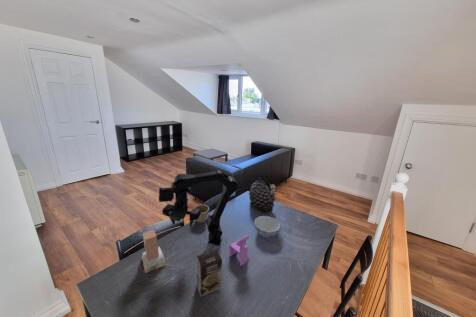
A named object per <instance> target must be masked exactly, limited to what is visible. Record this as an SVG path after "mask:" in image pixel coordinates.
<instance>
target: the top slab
mask: <svg viewBox="0 0 476 317" xmlns="http://www.w3.org/2000/svg"><path fill="white" fill-rule="evenodd" d="M158 252H159V256H158V257H156V258H153V259H151V260H147V257H146V254H145V251H144V252H142V256H143V259H144V262H145V265H146V269H147V268H149V267H152V266H154V265H157V264H159V263H162V262H164V260H165V256H164V254H163V251H162V249H161V247H160V246H158Z"/></svg>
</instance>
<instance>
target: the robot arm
mask: <svg viewBox="0 0 476 317" xmlns="http://www.w3.org/2000/svg"><path fill="white" fill-rule="evenodd" d="M214 181H218V182H220V183H221V184H222V192H221V194H220V197H219V198H218V201H217V204H216V206H215V209H214V210H213V213H212V214H211V215H210V214H207V218H206V221H205V222H206V227H207V231H208V244H210V245H215V246H220V245H221V243H222V239H223V237H222V235H223V231H222V227H221V225H220V224H221V218H222V215H223V213H224V210H225V208H226V207H227V204H228V201H229V199H230V198H231V196H232V195H233V194H235V192H236V191H237V190H238V186H239V185H238V183H237V180H236V179H235V178H234V177H233V176H230V175H228V174H226V173H224V172H222V171H221V170H219V169H217V170H215V171H209V172H208V171H207V172H202V173H201V172H200V173H196V174H189V173H180V174H179V173H178V174H177V175H176V176H175V178H174V181H173V182H172V183H171V185H170V187H159V190H158V202H159V203H163V202H166V203H167V202H172V201H173V200H175V202H174V203H173V204H169V203H168V204H166V205H165V206H164V207H163V208H162V209H161V210H162V211H161V213H162V215H164V216H165V217H168V218H169V219H170V221H171V223H172V225H175V224H176V222H180V221H181V220H184V219H185V217H186V215H189V219H188V220H189V228H190V229H191V228H192V225H193V224H194V221H197V219H198V218H199V216H200V215H201V210H200V209H195V207H194V208H193V209H192V210H190V209H189V206H188V202H189V198H188V193H191V192H192V189H191V187H192V186H194V185H198V184H203V183H208V182H214Z"/></svg>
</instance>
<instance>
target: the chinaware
mask: <svg viewBox="0 0 476 317" xmlns="http://www.w3.org/2000/svg"><path fill="white" fill-rule="evenodd" d="M254 226H255V230H256V231H257V234H259V235H260V236H261V237H263V238H267V239H268V238H271V237H273V236H275V235H276V234H277V233H278V232H279V230H280V228H281V224H280V222H279V220H277V219H276V218H275V217H272V216H270V215H262V216H261V215H259V216H258V217H256V218H255V219H254Z"/></svg>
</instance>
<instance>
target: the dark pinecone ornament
mask: <svg viewBox="0 0 476 317" xmlns="http://www.w3.org/2000/svg"><path fill="white" fill-rule="evenodd" d="M275 192H276V184H274V183H272V184H271V183H270V182H269V181H268V180H265V178H263V177H262V176H258V178H257V180H255V182H253V183H252V184H250V189H249V193H248V195H249V208H250V209H251V210H252V211H254V212H256V213H257V214H259V215H262V216H270V215H271V214H272V213H273V211H274V207H275V201H276V198H275V196H276V195H275Z"/></svg>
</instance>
